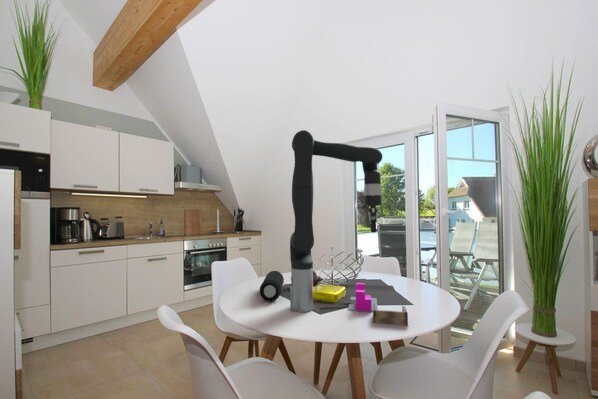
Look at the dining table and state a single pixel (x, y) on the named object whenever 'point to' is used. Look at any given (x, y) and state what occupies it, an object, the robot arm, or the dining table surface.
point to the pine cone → (316, 279)
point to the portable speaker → (272, 286)
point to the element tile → (328, 292)
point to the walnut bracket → (390, 316)
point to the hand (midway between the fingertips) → (373, 231)
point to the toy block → (362, 298)
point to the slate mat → (353, 307)
